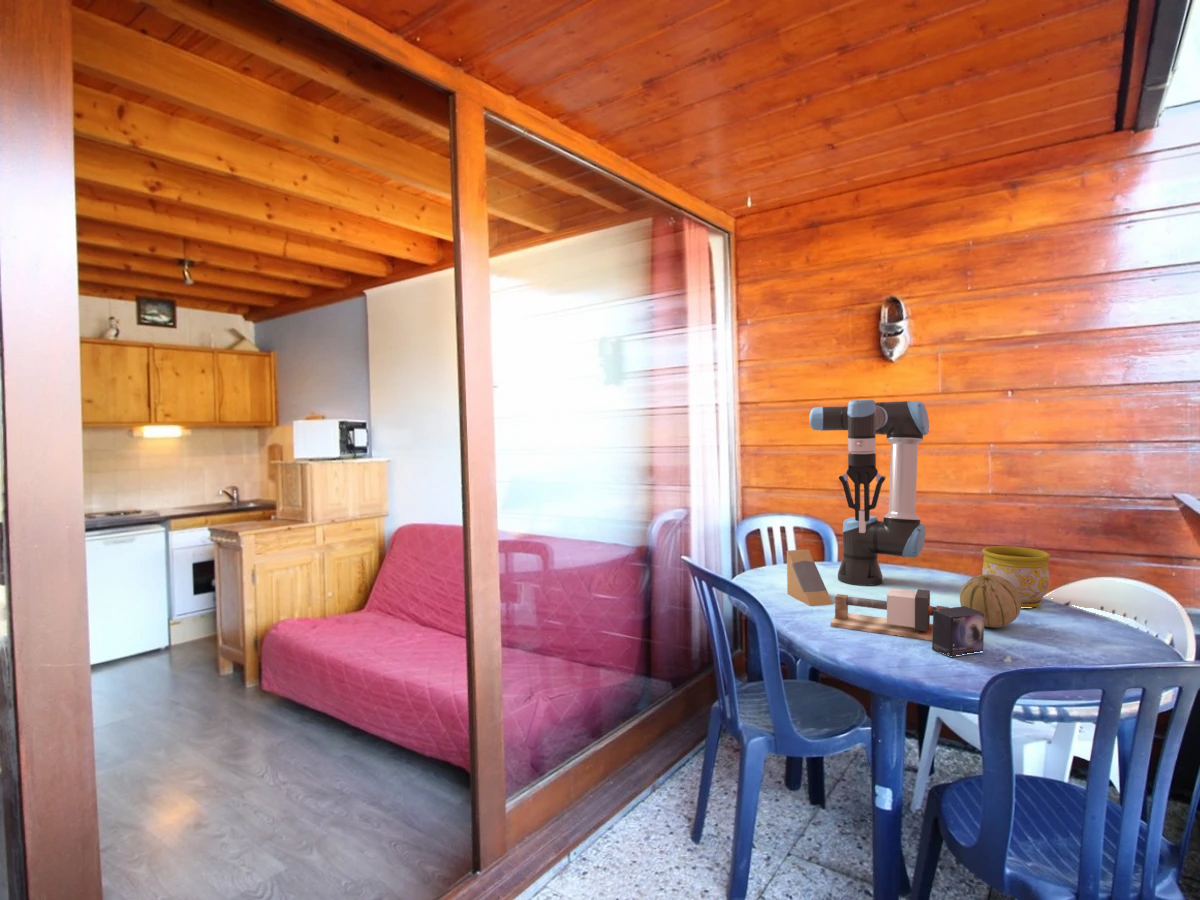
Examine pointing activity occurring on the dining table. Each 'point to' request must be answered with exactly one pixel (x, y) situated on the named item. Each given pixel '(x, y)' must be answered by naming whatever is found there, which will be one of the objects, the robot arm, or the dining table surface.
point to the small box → (958, 630)
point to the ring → (922, 610)
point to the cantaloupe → (992, 599)
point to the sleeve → (901, 607)
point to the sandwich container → (805, 579)
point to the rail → (874, 618)
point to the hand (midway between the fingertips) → (862, 531)
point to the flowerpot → (1020, 570)
